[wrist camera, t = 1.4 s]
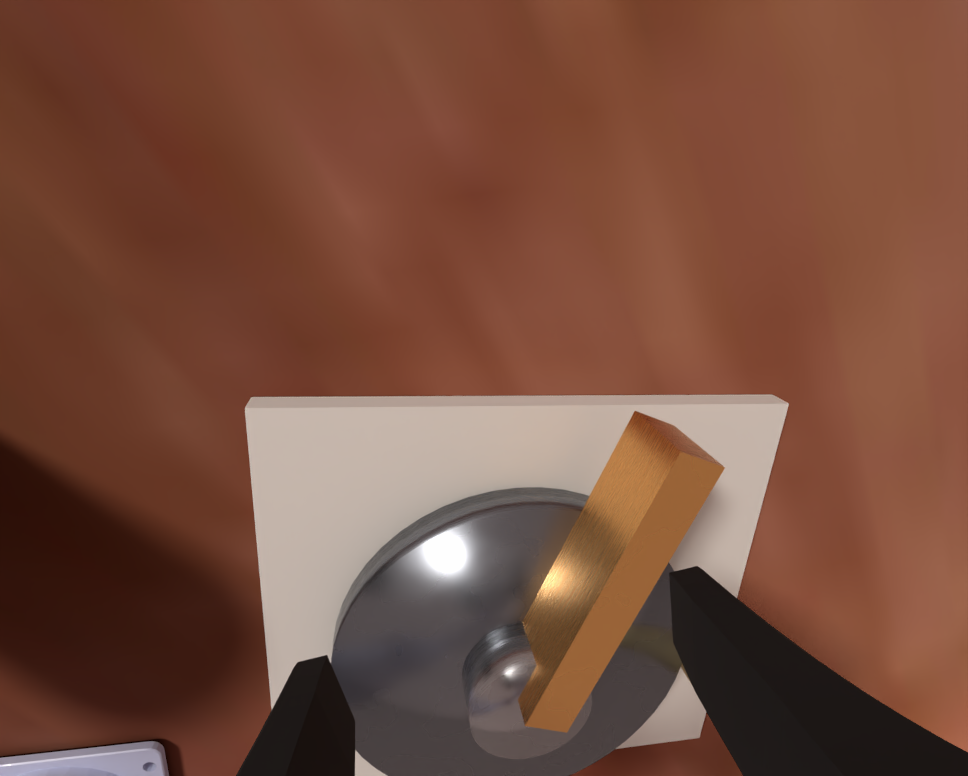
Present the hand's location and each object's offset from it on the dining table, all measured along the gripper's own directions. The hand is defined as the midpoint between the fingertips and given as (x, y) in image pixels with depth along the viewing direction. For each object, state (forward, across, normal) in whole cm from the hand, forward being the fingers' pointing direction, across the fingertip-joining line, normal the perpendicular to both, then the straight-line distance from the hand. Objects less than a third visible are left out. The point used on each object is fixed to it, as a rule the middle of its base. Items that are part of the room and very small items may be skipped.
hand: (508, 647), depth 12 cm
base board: (+10, -1, +8) cm, 13 cm away
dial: (+8, -1, +7) cm, 11 cm away
